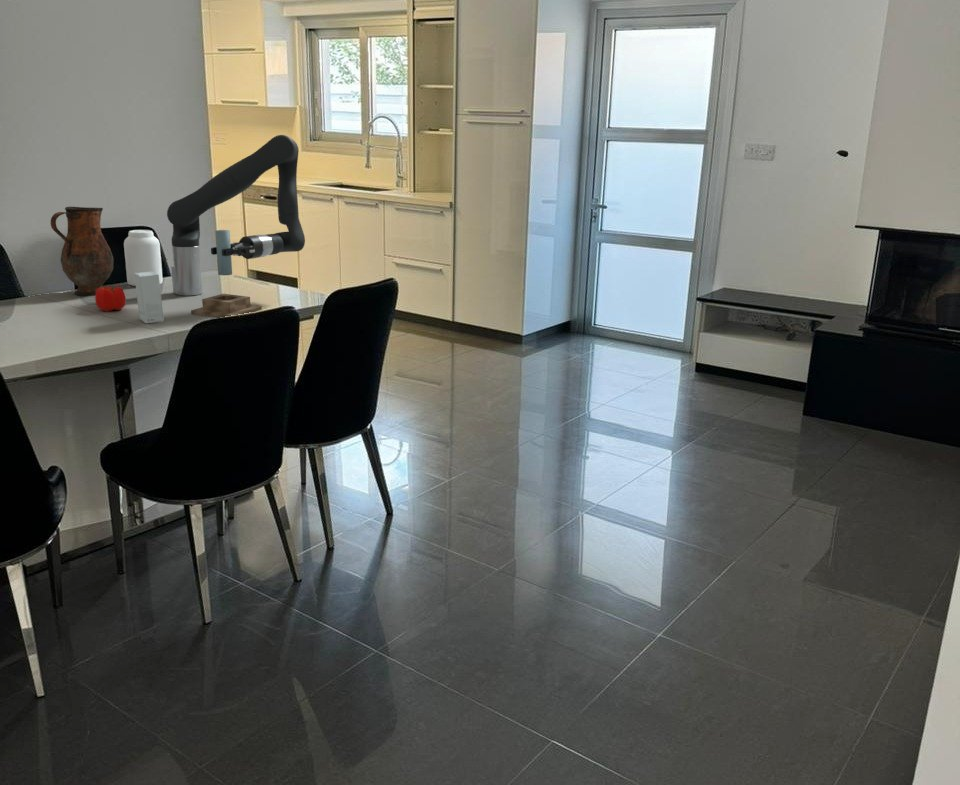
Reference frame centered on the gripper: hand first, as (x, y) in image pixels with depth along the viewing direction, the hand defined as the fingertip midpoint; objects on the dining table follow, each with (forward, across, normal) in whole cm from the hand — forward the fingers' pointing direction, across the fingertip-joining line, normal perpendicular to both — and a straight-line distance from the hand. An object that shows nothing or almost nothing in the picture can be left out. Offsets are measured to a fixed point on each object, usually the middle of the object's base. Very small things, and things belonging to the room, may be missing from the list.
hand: (217, 252), depth 274 cm
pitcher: (+8, -59, +20) cm, 63 cm away
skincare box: (+21, -8, +20) cm, 30 cm away
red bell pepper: (+19, -30, +20) cm, 41 cm away
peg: (-3, 0, +8) cm, 8 cm away
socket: (-3, 0, +20) cm, 20 cm away
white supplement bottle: (-18, -60, +20) cm, 65 cm away
